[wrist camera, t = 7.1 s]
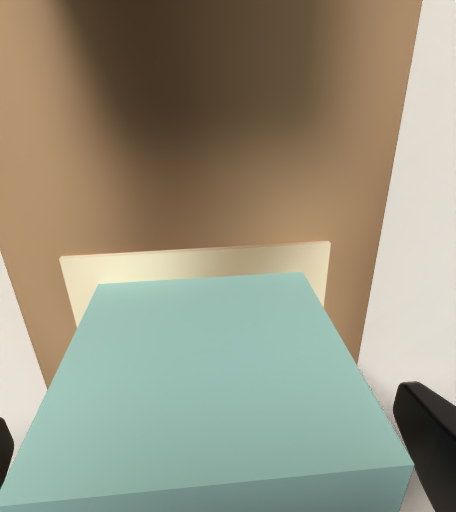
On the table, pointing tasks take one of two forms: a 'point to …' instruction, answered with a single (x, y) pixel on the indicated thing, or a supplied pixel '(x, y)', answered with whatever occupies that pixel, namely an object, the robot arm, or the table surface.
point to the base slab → (196, 147)
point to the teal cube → (208, 408)
